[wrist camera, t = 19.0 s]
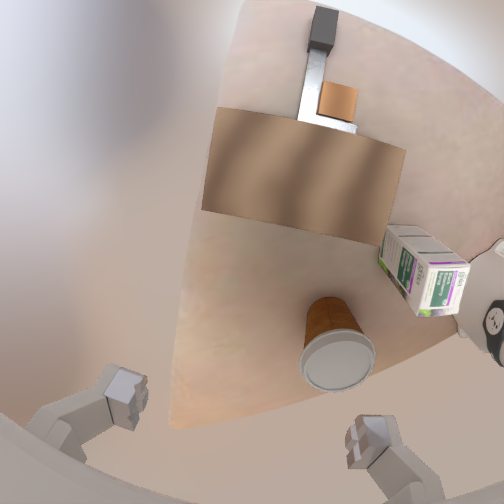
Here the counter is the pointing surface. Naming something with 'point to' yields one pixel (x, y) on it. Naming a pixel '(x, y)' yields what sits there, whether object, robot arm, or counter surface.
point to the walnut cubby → (301, 175)
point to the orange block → (337, 102)
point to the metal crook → (319, 69)
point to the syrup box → (423, 270)
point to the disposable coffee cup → (335, 348)
